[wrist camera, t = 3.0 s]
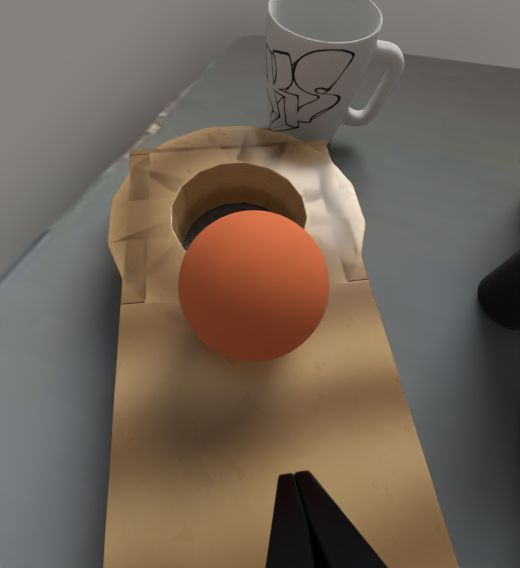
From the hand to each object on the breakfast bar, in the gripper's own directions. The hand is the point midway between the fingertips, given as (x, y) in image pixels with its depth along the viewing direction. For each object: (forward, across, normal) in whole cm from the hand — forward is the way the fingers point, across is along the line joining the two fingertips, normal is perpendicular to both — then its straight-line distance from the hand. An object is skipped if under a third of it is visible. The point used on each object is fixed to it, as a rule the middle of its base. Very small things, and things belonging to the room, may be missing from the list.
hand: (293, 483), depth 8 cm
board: (+14, 0, +2) cm, 14 cm away
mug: (+27, -9, -12) cm, 31 cm away
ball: (+8, 0, -3) cm, 8 cm away
